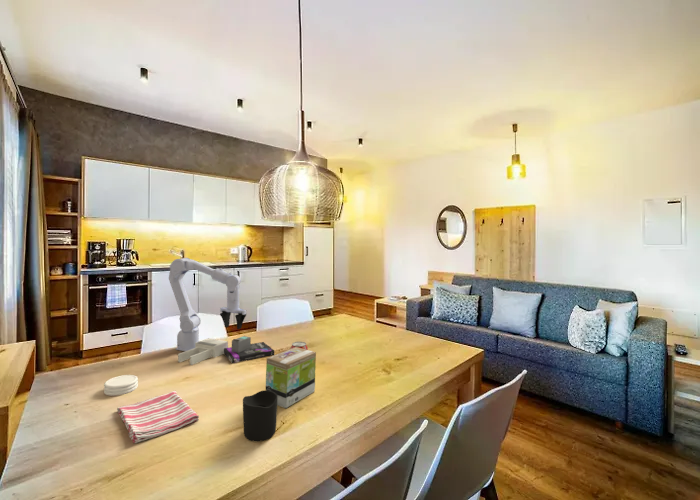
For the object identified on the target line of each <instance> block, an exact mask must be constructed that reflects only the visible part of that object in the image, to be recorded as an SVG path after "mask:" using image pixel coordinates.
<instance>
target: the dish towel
mask: <svg viewBox="0 0 700 500" xmlns="http://www.w3.org/2000/svg"><path fill="white" fill-rule="evenodd" d="M116 410H117V413H118V415H119V416H120V419H121V420H122V421H123V423H124V425H125V428H126V429H127V431H128V437H129V438H130V440H131V441H132V443H133V444H137V443H140V442H143V441H146V440H150V439H153V438H156V437H159V436H162V435H165V434H167V433H169V432H173V431H175V430H178V429H180V428H183V427H184V426H187V425H189V424H193V423H195V422H198V421H199V418H200V416H199V415H198V414H197V412H196V411H195V410H193V408H191V407H190V405H189V403H187V402H186V401H185V400H184V399H183V398H182V397H181V396H180V395H178V394H177V390H173V391H170V392H168V393H166V394H165V393H164V394H161V395H156V396H154V397H151V398H148V399H147V398H146V399H145V400H141V401H139V402H136V403H133V404H127V405H122V406H119V407H117V409H116Z"/></svg>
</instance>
